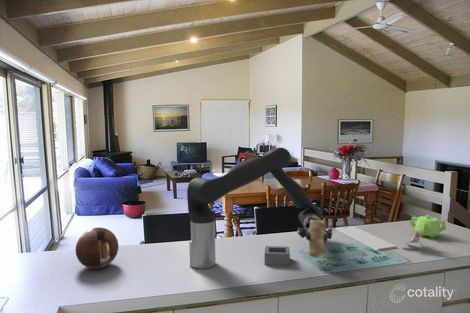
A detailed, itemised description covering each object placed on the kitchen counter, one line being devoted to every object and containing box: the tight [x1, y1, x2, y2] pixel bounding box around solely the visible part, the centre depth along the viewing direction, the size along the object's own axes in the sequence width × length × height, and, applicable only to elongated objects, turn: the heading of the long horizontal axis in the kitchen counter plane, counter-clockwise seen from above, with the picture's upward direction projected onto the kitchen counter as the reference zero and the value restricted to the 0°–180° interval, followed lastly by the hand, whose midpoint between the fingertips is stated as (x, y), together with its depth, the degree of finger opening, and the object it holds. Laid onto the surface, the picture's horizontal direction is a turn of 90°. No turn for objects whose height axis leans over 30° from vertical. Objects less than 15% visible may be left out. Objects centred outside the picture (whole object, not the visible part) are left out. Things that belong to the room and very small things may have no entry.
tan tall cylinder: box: [308, 219, 325, 258], centre depth 135 cm, size 5×4×13 cm
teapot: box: [409, 214, 447, 240], centre depth 169 cm, size 12×12×10 cm
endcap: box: [264, 245, 291, 267], centre depth 139 cm, size 10×8×5 cm
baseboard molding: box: [333, 223, 398, 252], centre depth 166 cm, size 31×3×12 cm
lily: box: [406, 231, 426, 251], centre depth 152 cm, size 12×12×10 cm
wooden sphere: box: [75, 227, 119, 270], centre depth 134 cm, size 15×15×15 cm
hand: (317, 238), depth 133 cm, fingers closed on tan tall cylinder, 5 cm apart
